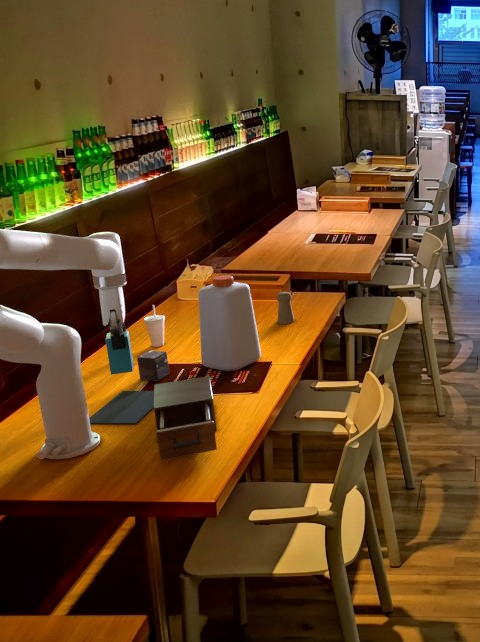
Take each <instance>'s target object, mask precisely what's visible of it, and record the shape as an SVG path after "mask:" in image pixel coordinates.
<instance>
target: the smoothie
mask: <svg viewBox="0 0 480 642" xmlns="http://www.w3.org/2000/svg"><path fill="white" fill-rule="evenodd" d="M151 306H152V315H148V316H145V317H144V318H143V323H144V324H145V326H146V330H147V333H148V336H149V341H150V344H151V346H152V347H153V348H159V347H162V346H164V345H165V320H166V317H165V315H162V314H156V308H155V304H151Z"/></svg>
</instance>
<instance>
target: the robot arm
mask: <svg viewBox="0 0 480 642" xmlns="http://www.w3.org/2000/svg"><path fill="white" fill-rule="evenodd" d="M0 269H1V270H3V269H4V270H30V271H31V270H33V271H61V270H86V271H87V270H89V271H91V275H92V281H93V287H94V289H97V290H98V294H99V295H98V297H99V305H100V309H101V310H100V312H101V318H102V319H101V320H102V326H104V327H106V326H107V325H109V333H111V335H110V337H111V343H112V349H113V350H117V349H125V348H126V342H125V336H124V334H123V331H127V328H126V326H125V319H126V305H125V304H126V303H125V297H124V290H123V287H125V286H126V285H127V277H126V276H127V275H126V270H125V263H124V257H123V250H122V244H121V239H120V236H119V234H118V233H116V232H112V231H102V232H101V231H100V232H96V233H95V232H94V233H92V234H90V235H89V236H84V237H79V236H71V235H70V236H69V235H64V234H55V233H46V232H39V231H38V232H37V231H27V230H14V229H5V228H0ZM81 355H82V338H81V336H80V334H79V332H78V331H77V330H76V329H75V328H73V327H71V326H69V325H66V324H65V325H64V324H60V323H47V322H46V323H45V322H44V323H43V322H40V321H38V320H37V319H36V318H35V317H33V316H32V315H29V314H27V313H25V312H21V311H18V310H15V309H11V308H9V307H7V306H4V305H3V304H0V360H2V361H6V362H10V363H19V364H34V365H40V366H41V368H40V372H39V373H38V376H37V378H36V381H35V382H36V383H35V386H36V392H37V393H36V394H37V398H38V402H39V408H40V413H41V418H42V423H43V428H44V434H45V435H44V436H45V439H44V444H42V446H41V447H40V450H39V451H38V452H37V453H36V458H37V459H39V460H43V459H49V460H66V459H72V458H74V457H79V456H82V455H85V454H86V453H89V452H91V451H92V450H94V449H95V448H97V447H98V445H99V444H100V443H101V437H100V434H98V433H97V432H95V431H92V427H91V424H90V420H89V418H90V415H89V408H88V403H87V396H86V391H85V385H84V379H83V374H82V365H81V362H82V361H81Z"/></svg>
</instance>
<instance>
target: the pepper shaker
mask: <svg viewBox="0 0 480 642" xmlns="http://www.w3.org/2000/svg"><path fill="white" fill-rule="evenodd" d="M291 300H292V295H291V292H288V291H281V292H279V293H277V294H276V301H277V302H278V303H277V305H278V307H277V323H278V324H281V325H285V324H286V325H287V324H291V323H294V322H295V316H294V313H293V308H292V302H291Z"/></svg>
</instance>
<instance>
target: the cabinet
mask: <svg viewBox="0 0 480 642" xmlns="http://www.w3.org/2000/svg"><path fill="white" fill-rule="evenodd" d="M211 382H212V381H211V377H210V375H208V376H201V377H195V378H189V379H182V380H177V381H176V380H175V381H170V382H163V383H156V384H154V389H153V391H154V409H153V412H154V420H155V425H156V430H160V410H164V409H170V408H176V407H182V406H188V405H194V404H200V403H206V402H208V408H209V416H210V421H212V420H213V422H214V431H215V432H217V431H218V430H217V421H216V420H217V419H216V411H215V404H214V397H213V390H212V383H211Z"/></svg>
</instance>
